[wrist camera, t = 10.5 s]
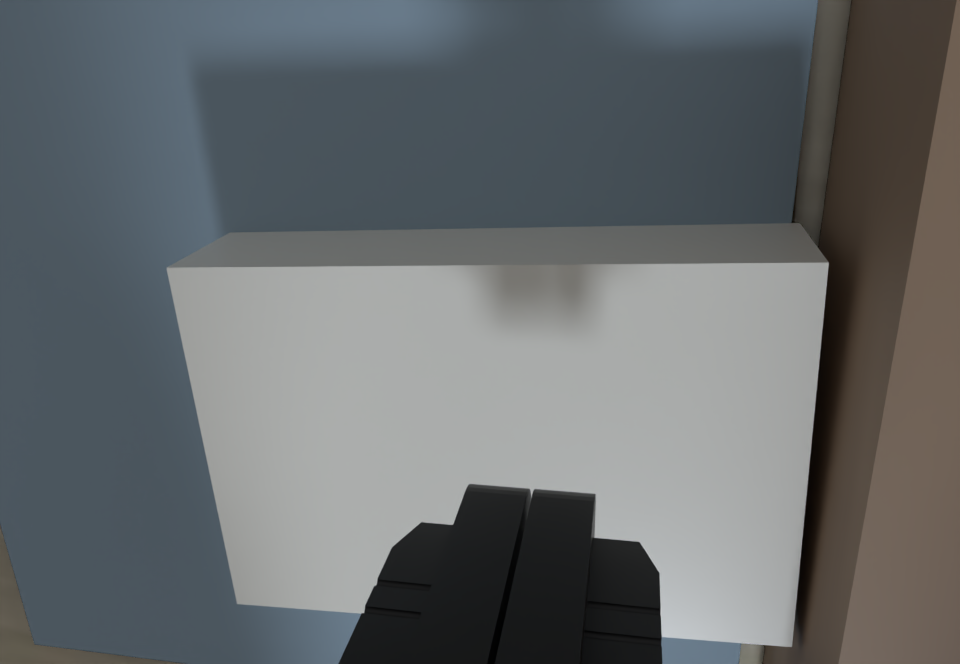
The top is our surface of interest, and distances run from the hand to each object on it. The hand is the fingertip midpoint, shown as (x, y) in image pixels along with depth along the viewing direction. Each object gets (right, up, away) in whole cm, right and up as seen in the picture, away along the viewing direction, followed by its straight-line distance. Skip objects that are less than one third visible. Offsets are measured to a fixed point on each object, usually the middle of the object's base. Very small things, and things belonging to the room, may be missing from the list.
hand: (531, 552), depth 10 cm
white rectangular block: (0, +2, +4) cm, 4 cm away
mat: (-3, +2, +5) cm, 6 cm away
